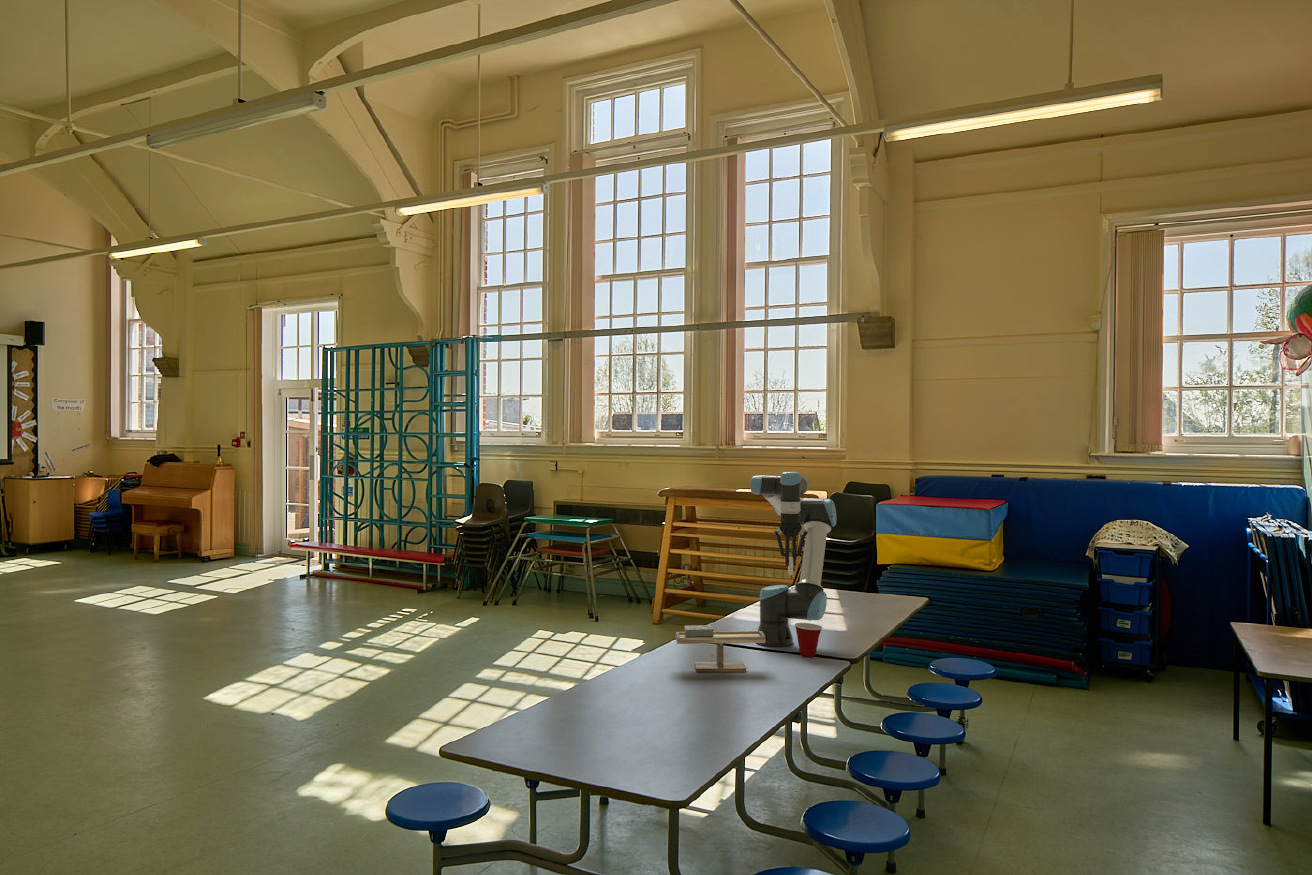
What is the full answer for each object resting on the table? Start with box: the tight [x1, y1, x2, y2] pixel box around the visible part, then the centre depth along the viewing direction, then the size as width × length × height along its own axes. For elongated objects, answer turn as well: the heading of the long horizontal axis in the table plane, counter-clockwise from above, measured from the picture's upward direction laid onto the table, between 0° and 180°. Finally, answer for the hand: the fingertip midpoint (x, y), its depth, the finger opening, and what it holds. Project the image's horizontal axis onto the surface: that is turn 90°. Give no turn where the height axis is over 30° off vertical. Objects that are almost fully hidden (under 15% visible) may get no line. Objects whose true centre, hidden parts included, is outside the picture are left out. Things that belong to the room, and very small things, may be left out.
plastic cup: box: [794, 622, 824, 658], centre depth 340 cm, size 11×11×12 cm
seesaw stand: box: [694, 643, 747, 673], centre depth 321 cm, size 10×18×9 cm, turn 91°
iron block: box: [684, 624, 714, 637], centre depth 321 cm, size 7×10×4 cm
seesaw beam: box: [675, 630, 765, 646], centre depth 321 cm, size 10×32×3 cm, turn 91°
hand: (790, 574), depth 334 cm, fingers closed
